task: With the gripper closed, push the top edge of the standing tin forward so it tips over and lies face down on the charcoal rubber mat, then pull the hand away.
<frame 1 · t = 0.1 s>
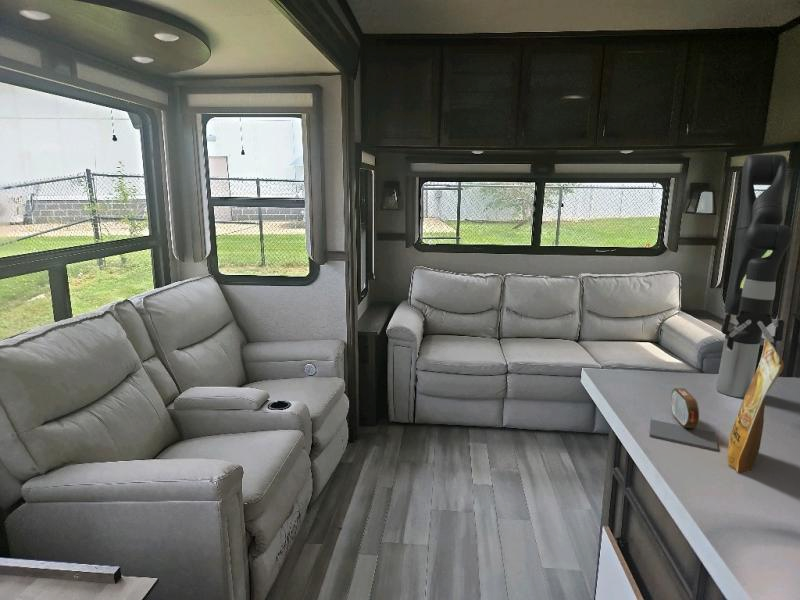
hand: (747, 351, 147), 17 cm above the table, tool pointing down, fingers open, 8 cm apart
pancake mix bag: (743, 460, 122), on the table
tin: (681, 422, 140), on the table, touching mat
mat: (682, 435, 133), on the table
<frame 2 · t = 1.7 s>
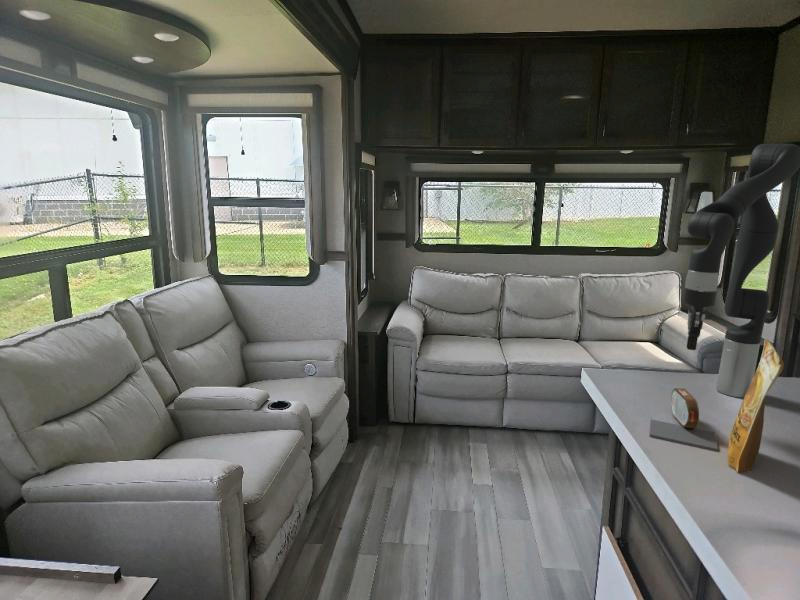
hand: (691, 348, 143), 19 cm above the table, tool pointing down, fingers closed
nothing on the table moved.
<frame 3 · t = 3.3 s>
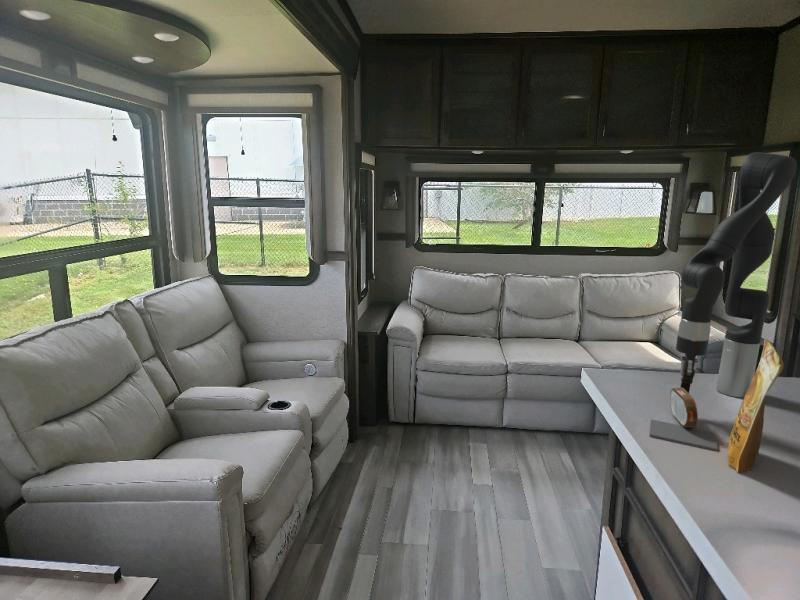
hand: (684, 394, 145), 6 cm above the table, tool pointing down, fingers closed
nothing on the table moved.
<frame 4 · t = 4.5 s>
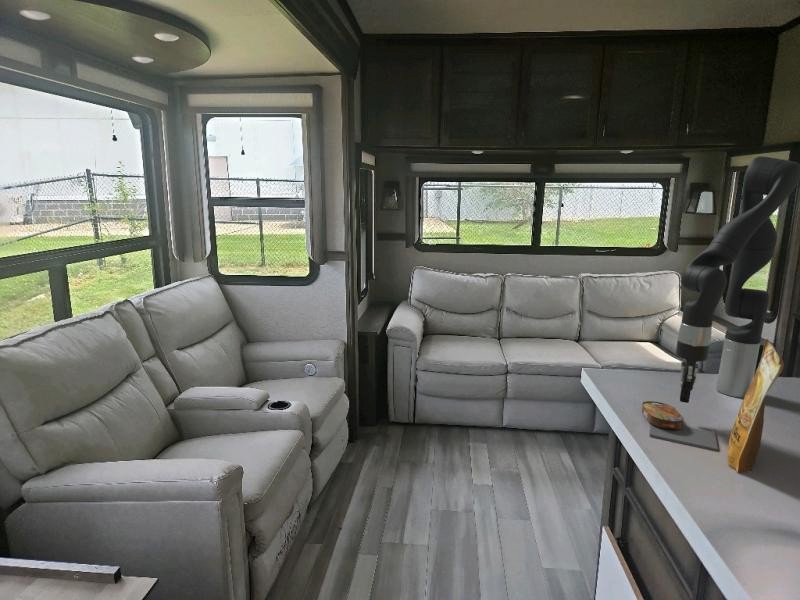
hand: (684, 401, 140), 6 cm above the table, tool pointing down, fingers closed
tin: (678, 418, 139), point 1 cm above the table, touching mat
everything else where it was.
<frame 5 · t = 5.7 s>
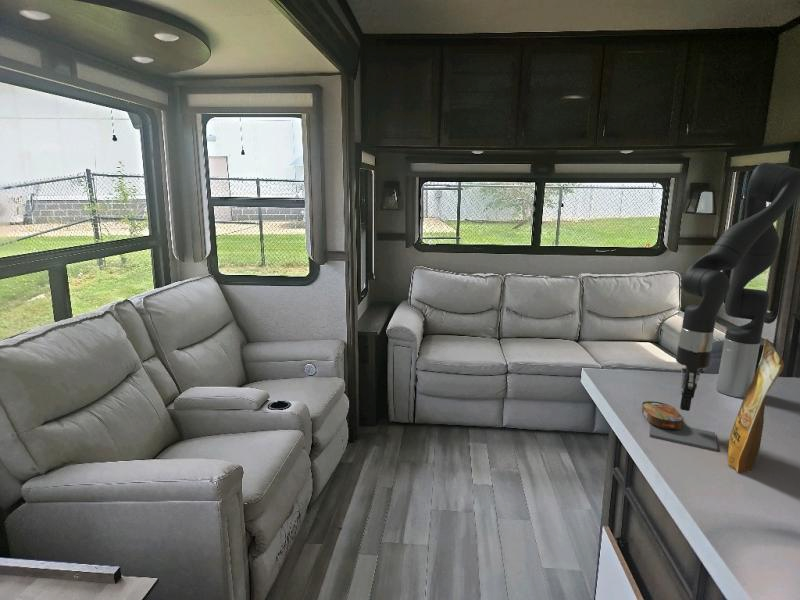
hand: (684, 409, 135), 6 cm above the table, tool pointing down, fingers closed
nothing on the table moved.
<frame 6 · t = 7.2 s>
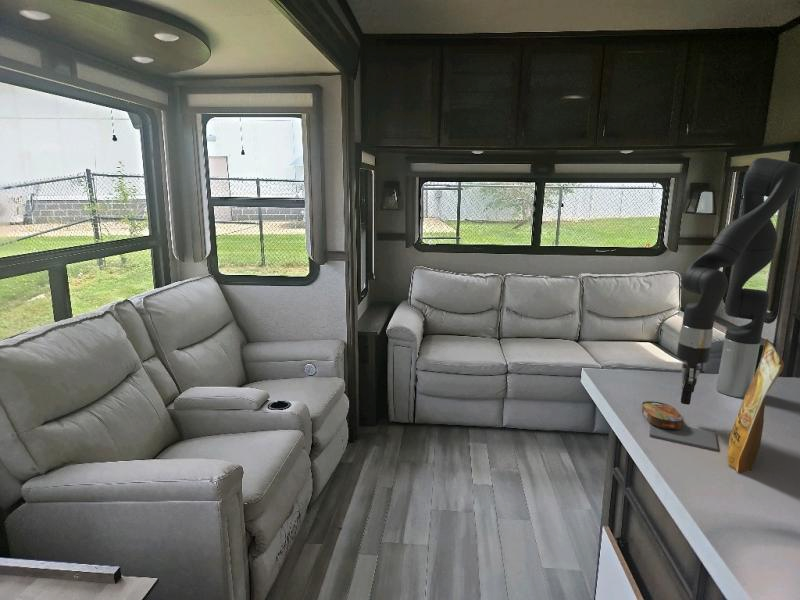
hand: (685, 403, 140), 5 cm above the table, tool pointing down, fingers closed
nothing on the table moved.
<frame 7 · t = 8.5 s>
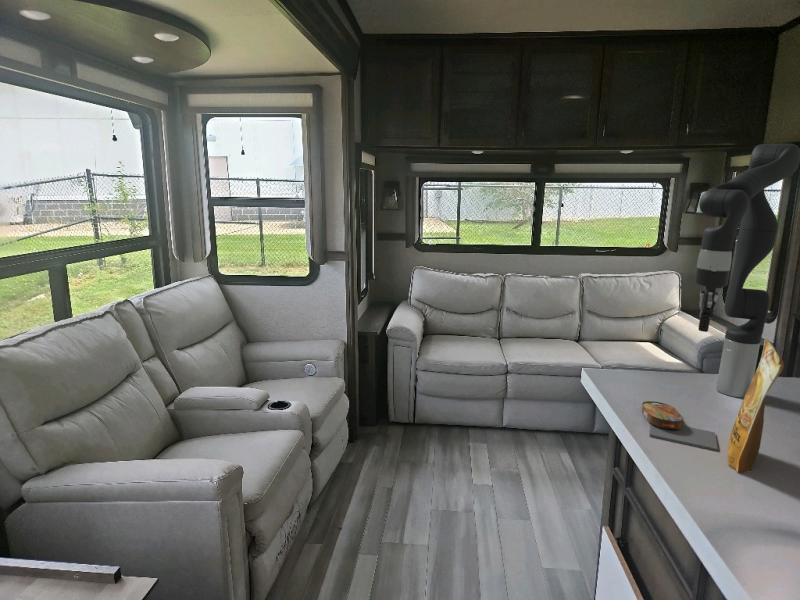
hand: (703, 330, 139), 25 cm above the table, tool pointing down, fingers closed
nothing on the table moved.
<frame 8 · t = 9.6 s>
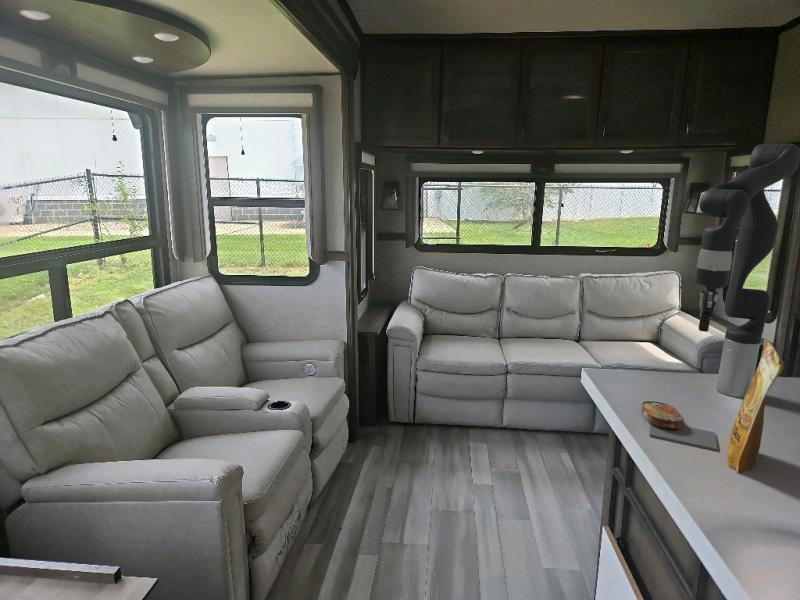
hand: (703, 330, 139), 25 cm above the table, tool pointing down, fingers closed
nothing on the table moved.
at the end: tin tilted 86°; tin touching mat, table; the gripper is holding nothing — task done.
